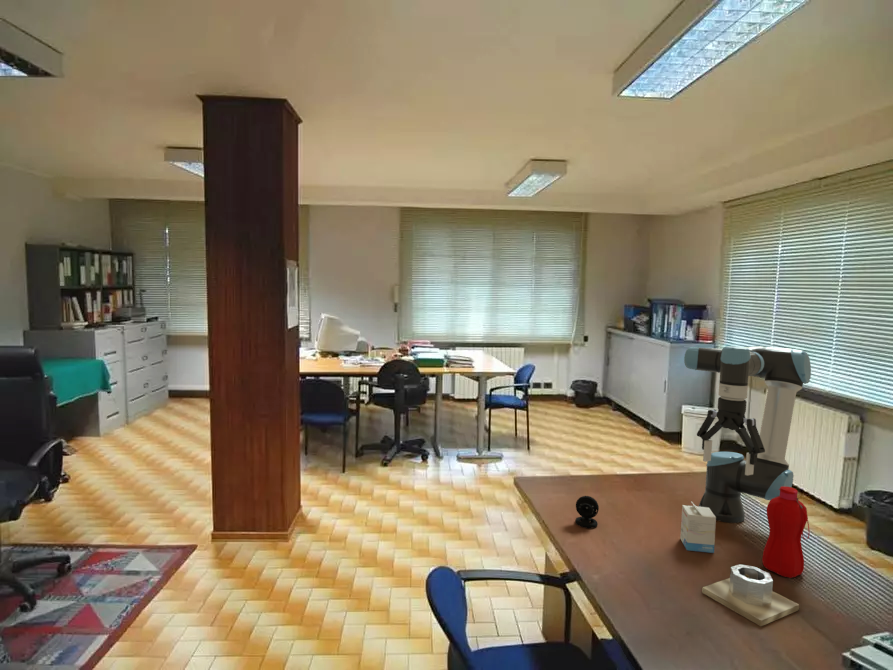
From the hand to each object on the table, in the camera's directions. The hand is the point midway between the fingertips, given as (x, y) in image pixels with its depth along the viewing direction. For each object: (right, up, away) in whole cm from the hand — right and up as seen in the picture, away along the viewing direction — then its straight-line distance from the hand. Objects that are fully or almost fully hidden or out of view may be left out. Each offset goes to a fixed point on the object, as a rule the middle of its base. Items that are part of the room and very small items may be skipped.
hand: (727, 467), depth 159 cm
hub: (-5, -29, -20) cm, 35 cm away
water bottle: (+15, -30, -4) cm, 34 cm away
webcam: (-36, -26, +24) cm, 51 cm away
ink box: (-4, -28, +11) cm, 30 cm away
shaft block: (-5, -30, -20) cm, 37 cm away
